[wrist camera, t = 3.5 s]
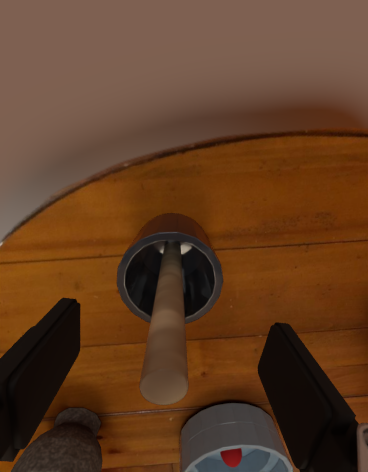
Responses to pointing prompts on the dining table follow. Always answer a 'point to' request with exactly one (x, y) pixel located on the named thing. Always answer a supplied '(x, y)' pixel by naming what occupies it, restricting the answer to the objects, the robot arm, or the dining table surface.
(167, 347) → the stick
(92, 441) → the mortar and pestle
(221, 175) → the dining table surface
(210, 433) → the mixing bowl
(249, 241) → the dining table surface
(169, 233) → the holder
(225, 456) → the berry
